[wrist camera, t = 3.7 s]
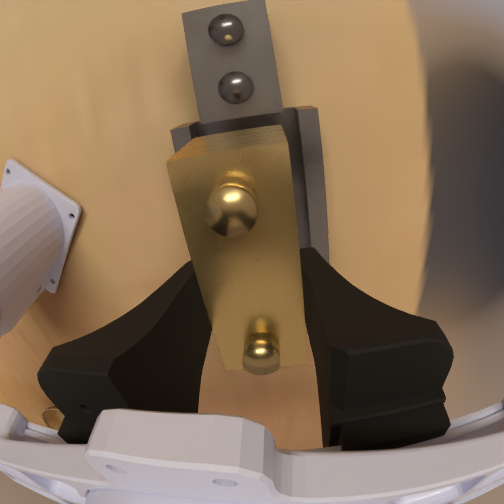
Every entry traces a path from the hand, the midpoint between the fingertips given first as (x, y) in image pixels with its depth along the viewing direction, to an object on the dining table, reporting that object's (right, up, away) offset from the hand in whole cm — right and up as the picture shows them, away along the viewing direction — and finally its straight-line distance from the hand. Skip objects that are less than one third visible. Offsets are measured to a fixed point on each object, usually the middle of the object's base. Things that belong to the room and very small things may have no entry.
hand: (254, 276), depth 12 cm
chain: (0, +4, +7) cm, 8 cm away
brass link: (0, +2, +2) cm, 3 cm away
